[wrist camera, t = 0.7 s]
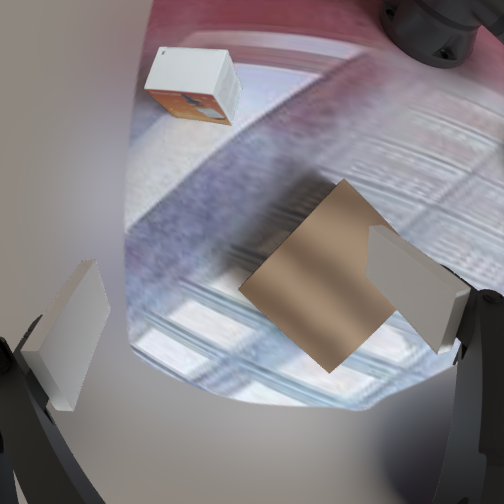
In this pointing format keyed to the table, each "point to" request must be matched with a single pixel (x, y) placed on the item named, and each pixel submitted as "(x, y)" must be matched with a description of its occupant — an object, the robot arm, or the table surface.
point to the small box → (195, 84)
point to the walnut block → (324, 280)
